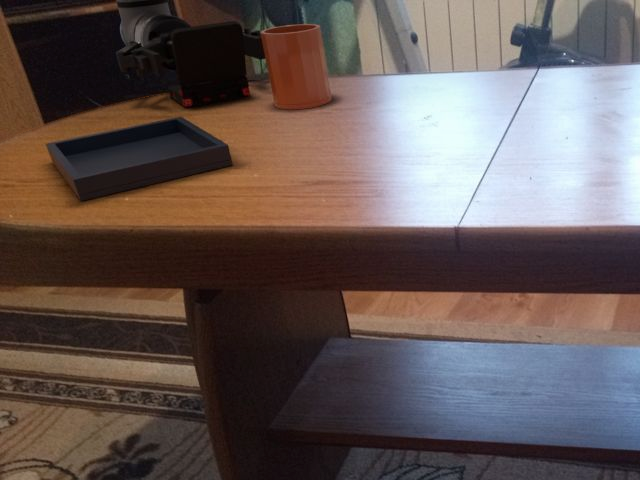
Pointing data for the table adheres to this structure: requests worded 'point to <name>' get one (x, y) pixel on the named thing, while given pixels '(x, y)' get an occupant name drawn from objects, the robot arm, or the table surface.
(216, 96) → the handheld gaming console
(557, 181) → the table surface
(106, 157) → the dark tray
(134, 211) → the table surface
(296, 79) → the terracotta cup
